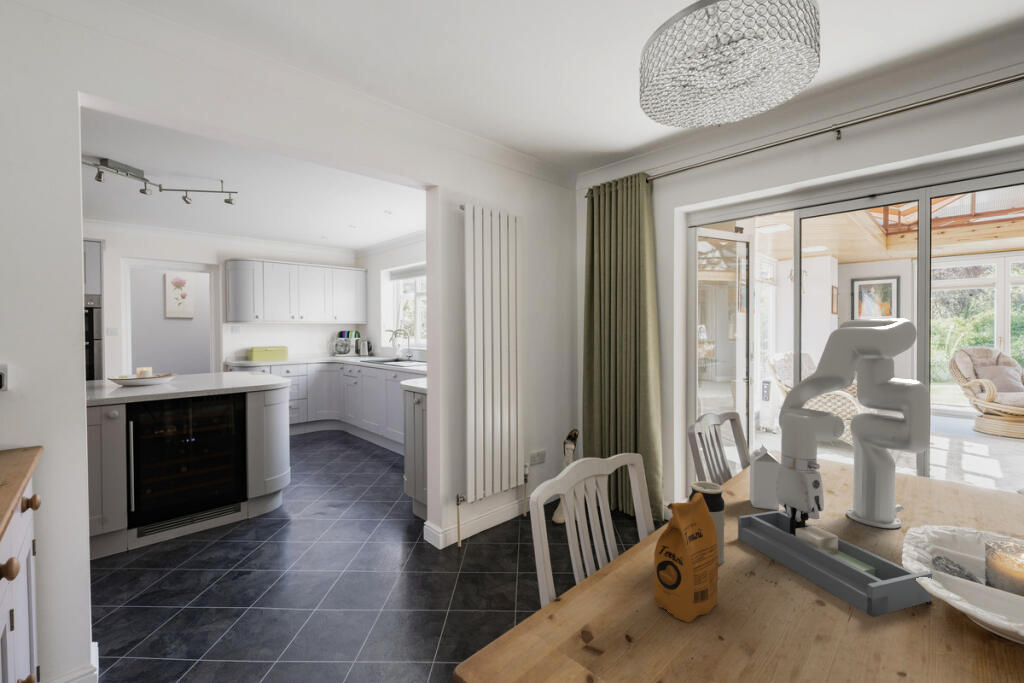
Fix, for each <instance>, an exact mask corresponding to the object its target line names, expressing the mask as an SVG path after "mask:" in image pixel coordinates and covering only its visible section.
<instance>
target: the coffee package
mask: <svg viewBox="0 0 1024 683" xmlns="http://www.w3.org/2000/svg"><path fill="white" fill-rule="evenodd" d="M666 507H667V509H668V510H671V514H672V516H671V517H670V518H669V521H668V522H667V525H666V526H667V527H666V529H665V530H663V532H662V533H661V535H660V536H659V538H658V539H657V542H656V545H655V549H654V553H653V554H654V556H653V557H654V579H653V580H654V581H653V582H654V583H653V599H654V601H655V604H656V605H657V604H658V605H659V606H661V607H660V608H662V607H663V608H662V609H664V610H665V609H666V610H667V611H669V612H670V613H669V614H671V615H672V616H673V618H675V619H677V618H678V619H677V620H680V621H681V620H683V621H682V622H684V621H685V622H684V623H686V622H689V623H692V622H693V621H694V620H695V619H696V618H697V617H698V616H704V615H705V614H706V615H709V612H710V613H711V611H712V610H713V609H714V608H715V606H717V605H718V579H719V578H718V577H719V565H718V543H717V534H716V527H715V524H714V521H713V519H712V516H711V514H710V512H709V510H708V507H707V505H706V502H705V500H704V498H703V495H702V494H701V493H696V494H694V496H693V497H692V499H691V501H690V502H689V501H688V502H674V503H673V502H670V503H669V504H668V505H667V506H666ZM658 605H657V606H658ZM659 606H658V607H659ZM666 610H665V611H666ZM667 611H666V612H667Z"/></svg>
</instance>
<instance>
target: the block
mask: <svg viewBox="0 0 1024 683" xmlns="http://www.w3.org/2000/svg"><path fill="white" fill-rule="evenodd" d="M796 537H797V538H799V539H801V540H803V541H805V542H807V543H809V544H811V545H813V546H815V547H817V548H819V549H821V550H823V551H825V552H827V553H829V554H836V553H838V538H839V536H838V535H836V534H834V533H832V532H829V531H827V530H824V529H823V528H820V527H819V526H816V525H812V526H810V527H803V528H797V529H796Z"/></svg>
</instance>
